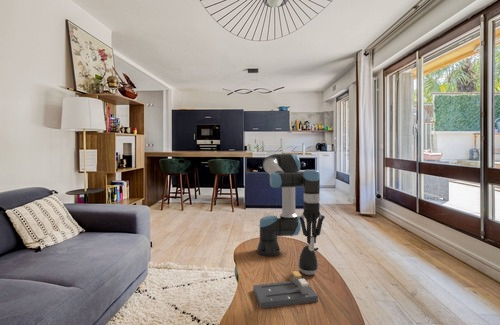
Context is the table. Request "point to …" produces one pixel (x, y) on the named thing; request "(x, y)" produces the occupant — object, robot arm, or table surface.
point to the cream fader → (303, 286)
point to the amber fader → (296, 277)
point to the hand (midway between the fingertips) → (311, 249)
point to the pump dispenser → (308, 261)
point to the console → (282, 294)
